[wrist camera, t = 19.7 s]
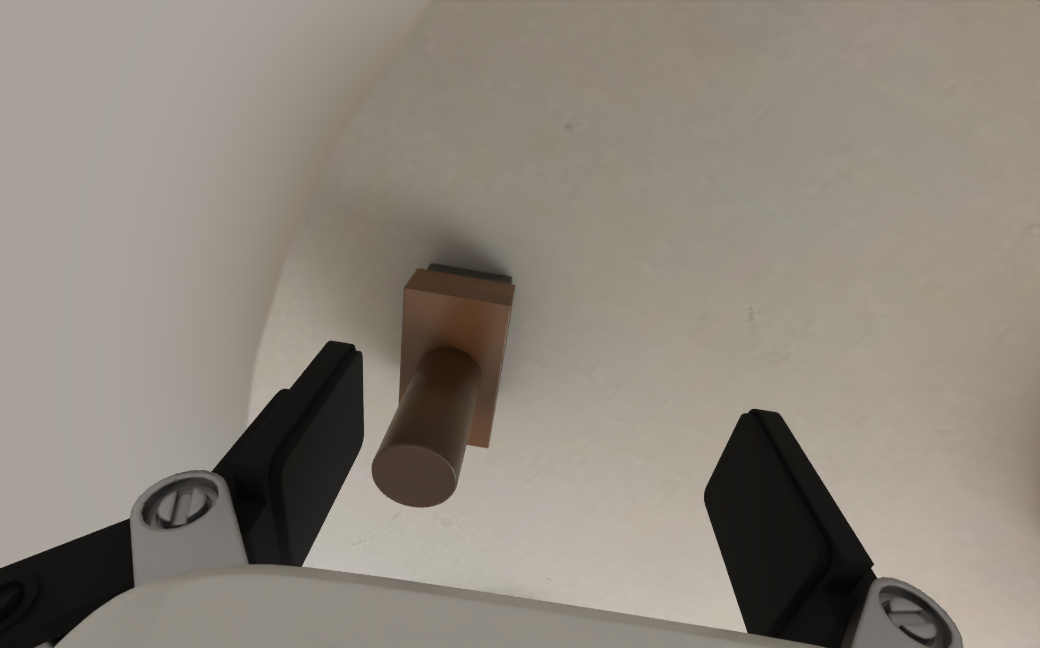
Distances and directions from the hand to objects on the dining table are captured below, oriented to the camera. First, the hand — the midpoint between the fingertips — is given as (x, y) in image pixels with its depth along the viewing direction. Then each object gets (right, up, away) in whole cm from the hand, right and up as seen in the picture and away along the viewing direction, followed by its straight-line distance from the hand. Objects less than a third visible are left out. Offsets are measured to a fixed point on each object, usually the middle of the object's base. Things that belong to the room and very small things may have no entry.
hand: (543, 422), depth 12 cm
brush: (-3, +2, +10) cm, 11 cm away
